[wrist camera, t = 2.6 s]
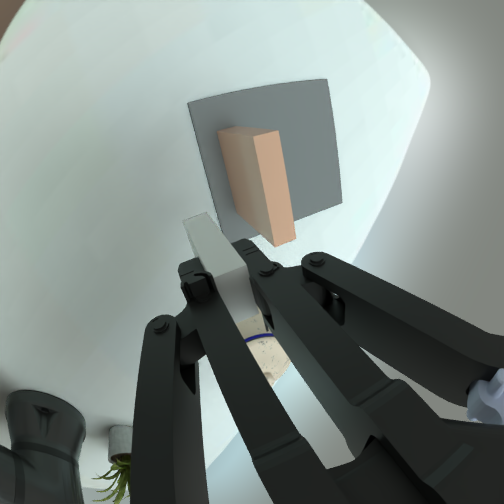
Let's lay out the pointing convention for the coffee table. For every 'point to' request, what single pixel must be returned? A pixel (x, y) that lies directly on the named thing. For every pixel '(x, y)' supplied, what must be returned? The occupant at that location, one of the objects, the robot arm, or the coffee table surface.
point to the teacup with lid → (264, 347)
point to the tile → (259, 181)
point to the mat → (292, 142)
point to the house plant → (119, 460)
